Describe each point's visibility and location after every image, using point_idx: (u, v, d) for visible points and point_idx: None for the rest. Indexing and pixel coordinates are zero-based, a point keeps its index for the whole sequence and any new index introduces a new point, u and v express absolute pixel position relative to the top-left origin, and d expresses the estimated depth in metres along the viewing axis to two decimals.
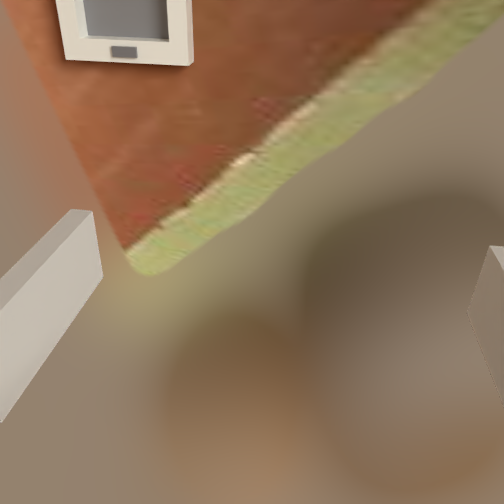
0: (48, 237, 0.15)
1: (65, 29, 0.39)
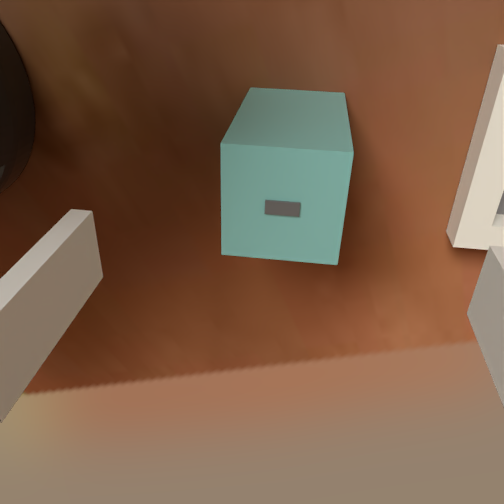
0: (48, 237, 0.15)
1: None
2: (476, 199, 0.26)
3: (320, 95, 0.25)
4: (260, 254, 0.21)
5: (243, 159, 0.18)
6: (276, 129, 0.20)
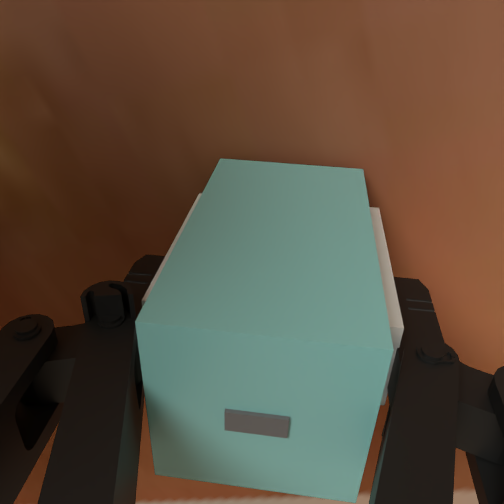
0: None
1: None
2: None
3: (326, 175, 0.16)
4: (220, 479, 0.12)
5: (181, 348, 0.10)
6: (248, 271, 0.11)
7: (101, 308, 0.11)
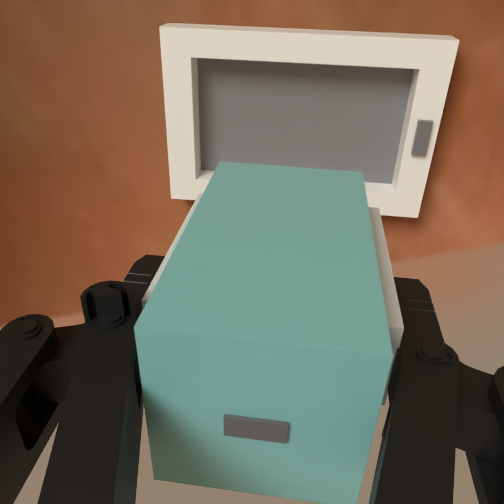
0: None
1: (382, 209, 0.30)
2: (175, 155, 0.30)
3: (325, 178, 0.16)
4: (219, 484, 0.12)
5: (179, 354, 0.10)
6: (248, 276, 0.11)
7: (101, 308, 0.11)
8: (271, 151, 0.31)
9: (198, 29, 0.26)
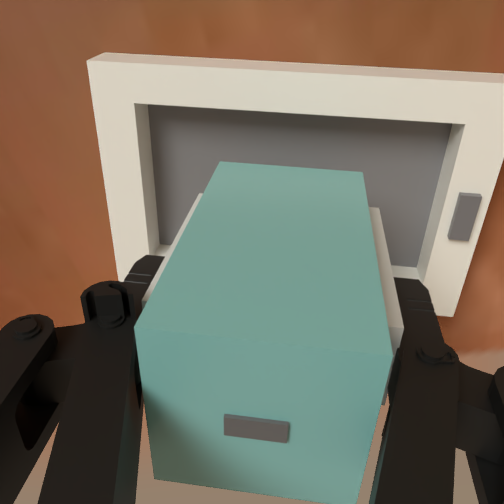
0: None
1: None
2: (121, 231, 0.22)
3: (325, 178, 0.16)
4: (220, 484, 0.12)
5: (180, 353, 0.10)
6: (248, 275, 0.11)
7: (101, 308, 0.11)
8: None
9: (142, 64, 0.18)
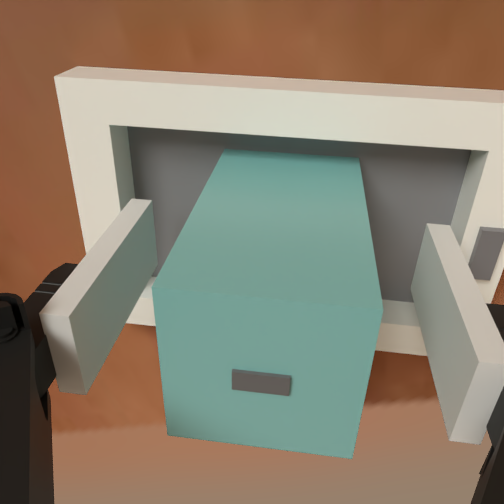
0: (116, 224, 0.15)
1: (415, 347, 0.20)
2: None
3: (324, 163, 0.17)
4: (228, 438, 0.13)
5: (192, 311, 0.11)
6: (253, 245, 0.12)
7: None
8: None
9: (118, 81, 0.16)
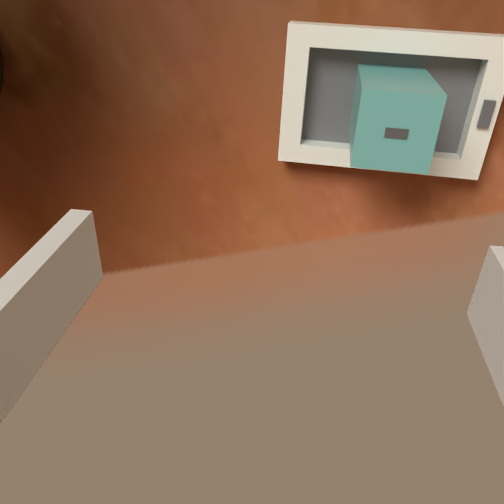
0: (48, 237, 0.15)
1: (449, 172, 0.38)
2: (286, 125, 0.38)
3: (409, 69, 0.36)
4: (376, 166, 0.31)
5: (375, 99, 0.29)
6: (392, 84, 0.31)
7: None
8: None
9: (318, 25, 0.34)
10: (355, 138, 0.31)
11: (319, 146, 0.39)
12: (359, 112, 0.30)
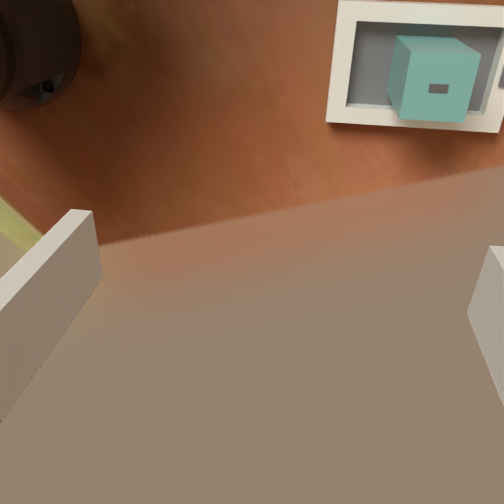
0: (48, 237, 0.15)
1: (474, 127, 0.45)
2: (334, 89, 0.45)
3: (441, 37, 0.42)
4: (421, 117, 0.38)
5: (422, 60, 0.36)
6: (433, 48, 0.37)
7: None
8: None
9: (364, 2, 0.41)
10: (404, 94, 0.37)
11: (362, 107, 0.45)
12: (408, 71, 0.36)
